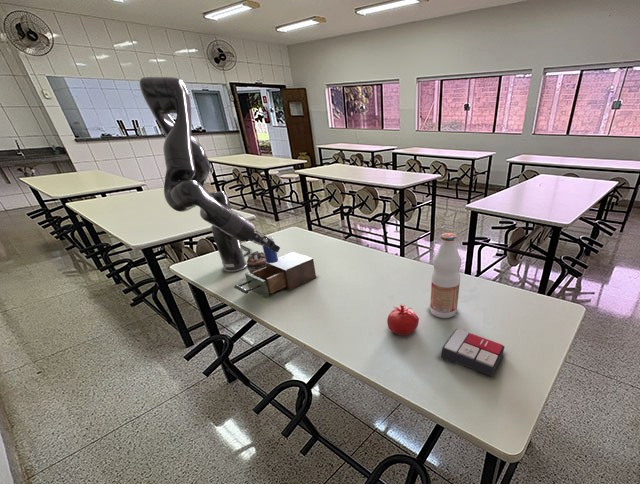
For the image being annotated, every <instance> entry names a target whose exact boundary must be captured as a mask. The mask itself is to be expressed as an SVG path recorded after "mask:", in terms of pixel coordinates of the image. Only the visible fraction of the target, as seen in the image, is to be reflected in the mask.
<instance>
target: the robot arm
mask: <svg viewBox="0 0 640 484" xmlns="http://www.w3.org/2000/svg"><path fill="white" fill-rule="evenodd" d="M139 88H140V92H141V94H142V97H143V99H144V101H145V103H146V105H147V106H148V108H149V110H150V112H151V113H152V115H153V117H154V118H155V120H156V122H157V124H158V125H159V127H160V129H161V130H162V132H163V134H164V135H165V138H164V142H163V149H162V150H163V157H164V164H165V169H166V171H165V175H164V185H163V195H164V200H165V201H166V203H167V205H168V206H169V207H170V208H171V209H172V210H173V211H176V212H180V213H183V212H184V213H185V212H188V211H190V210H191V209H193V208H195V207H199V216H200V218H201V219H202V220H204V221H205V222H207V223H208V224H209V225H211V226H210V229H211V233H212V236H213V239H214V242H215V245H216V248H217V251H218V254H219V258H220V262H221V264H222V267H223V271H225V272H227V273H233V272H234V273H235V272H239V271H242V270H244V269H247V261H246V259H245V257H246V256H248V255H249V254H251V252H252V251H251V249H250V248H248V247H246V246H244V245H243V244H241V242H246V241H249V242H251V243H253V244H257V245H258V246H261V247H262V246H266V247H268V248H270V249H272V250H274V251H275V252H277V253H279V251H280V250H281V246H279V245H277V244H276V242H275V240H274V241H272V240H270V239H269V238H268V237H267V235H264V234H262V232H260V231H258V230H255V224H254V222H252V221H250V220H249V219H248V218H246V217H244V216H243V215H241V214H240V213H238V212H237V211H235V210H233V209H232V207H231V203H230V199H229V196H228V194H227V193H226V192H225V191H208V189H206V187H205V184H206V181H207V179H208V177H209V175H210V172H211V171H210V170H211V164H210V161H209V158H208V156H207V153H206V151H205V149H204V147H203V145H202V144H201V143H199V141H198V140H197V139H195V138H194V137H193V136H192V103H191V99H190V96H189V93H188V90H187V88H186V85H185V83H184V82H183V80H182V79H180V78H178V77H175V76H173V77H172V76H144V77H141V78H140V79H139ZM171 115H176V118H175V121H174V119H173V117H171ZM243 248H244V249H246V250H248V251H247V252H246V253H245V254H244V253H243Z"/></svg>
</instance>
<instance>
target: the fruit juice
mask: <svg viewBox="0 0 640 484" xmlns="http://www.w3.org/2000/svg"><path fill="white" fill-rule="evenodd" d="M440 241H441V244H440V245H439V248H438V250H437V252H436V253H435V255H434V256H433V259H432V265H433V270H432V274H431V283H430V284H431V285H430V286H431V287H430V305H429V309H430V312H431V314H432V315H433V316H434V317H437V318H440V319H448V318H449V319H450V318H452V317H454V316H455V315H456V314H457V312H458V304H459V295H460V284H461V272H460V269H461V266H462V257H461V255H460V253H459V251H458V247H457V241H458V235H457V234H456V233H454V232H444V233H442V234H441V236H440Z"/></svg>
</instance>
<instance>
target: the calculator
mask: <svg viewBox="0 0 640 484" xmlns="http://www.w3.org/2000/svg"><path fill="white" fill-rule="evenodd" d="M504 351H505V345H503V343H499V342H496V341H494V340H491V339H488V338H485V337H482V336H480V335H477V334H474V333H471V332H468V331H465V330H462V329H459V328H456V329H455V330H454V331H453V332H452V334H451V335H450V337H449V338H448V339H447V341H446V342H445V343H444V344H443V346H442V348H441V354H440V358H441V359H444V360H445V361H448V362H449V363H450V362H451V363H457V364H459V365H462V366H464V367H466V368H470V369H471V370H474V371H476V372H479V373H481V374H484V375H486V376H488V377H493V375H494V374H495V371H496V370H497V368H498V365H499V364H500V363H499V362H500V361H501V359H502V356H503V355H504Z"/></svg>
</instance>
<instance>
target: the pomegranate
mask: <svg viewBox="0 0 640 484" xmlns="http://www.w3.org/2000/svg"><path fill="white" fill-rule="evenodd" d="M393 308H394V309H392V310H391V311H390V312H389V314H388V316H387V319H386V323H387V327H388V328H387V329H388V330H389V331H390V332H391V333H394V334H395V335H400V336H401V335H402V336H408V335H410V334H412V333H414V332H415V331H416V330H417V328H418V326H419V321H420V318H419V316H418V315H417V313H415V311H413V310H411V307H406V304H399V307H398V306H393Z"/></svg>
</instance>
